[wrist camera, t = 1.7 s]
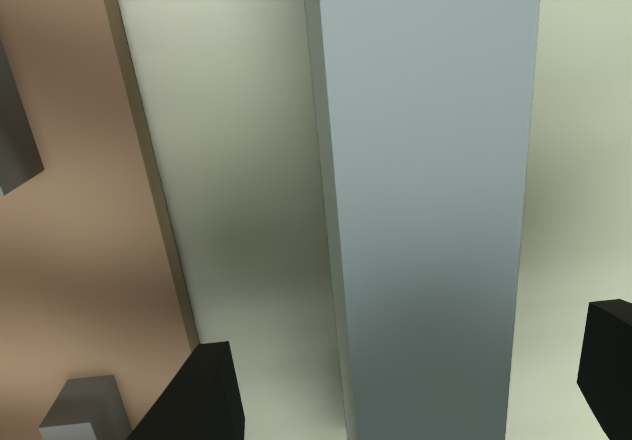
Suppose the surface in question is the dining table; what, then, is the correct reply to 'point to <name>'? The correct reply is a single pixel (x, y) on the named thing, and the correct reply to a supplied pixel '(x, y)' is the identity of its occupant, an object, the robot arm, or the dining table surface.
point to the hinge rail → (81, 231)
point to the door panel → (423, 205)
